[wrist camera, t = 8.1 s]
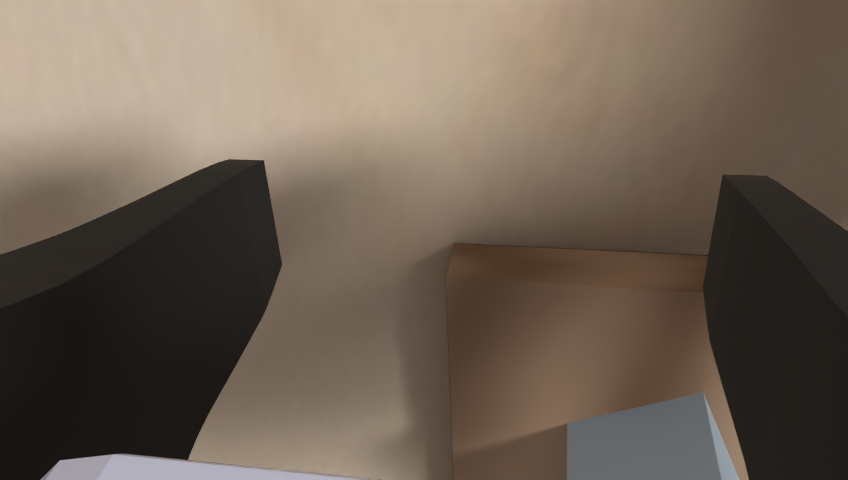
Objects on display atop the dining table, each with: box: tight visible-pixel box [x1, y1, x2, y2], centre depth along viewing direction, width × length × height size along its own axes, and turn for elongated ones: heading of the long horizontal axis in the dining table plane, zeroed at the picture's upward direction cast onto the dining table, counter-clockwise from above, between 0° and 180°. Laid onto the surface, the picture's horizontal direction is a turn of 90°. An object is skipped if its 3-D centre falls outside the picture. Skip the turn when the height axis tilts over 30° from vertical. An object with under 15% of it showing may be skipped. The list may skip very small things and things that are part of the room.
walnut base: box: [446, 244, 749, 480], centre depth 26 cm, size 14×14×2 cm
